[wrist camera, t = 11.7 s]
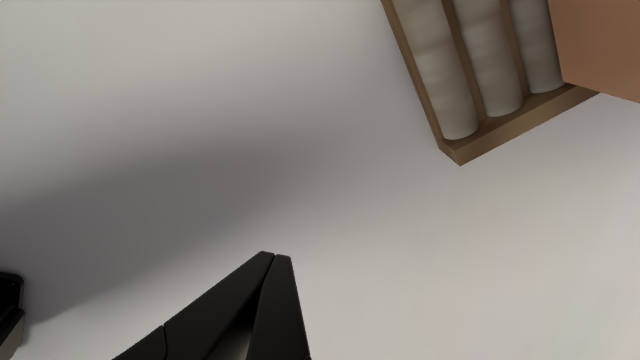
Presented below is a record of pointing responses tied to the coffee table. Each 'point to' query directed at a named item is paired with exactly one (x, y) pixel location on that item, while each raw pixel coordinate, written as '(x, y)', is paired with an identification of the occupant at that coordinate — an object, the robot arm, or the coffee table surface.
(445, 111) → the roller track
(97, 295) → the coffee table surface
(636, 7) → the terracotta slab
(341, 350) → the coffee table surface
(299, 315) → the robot arm
